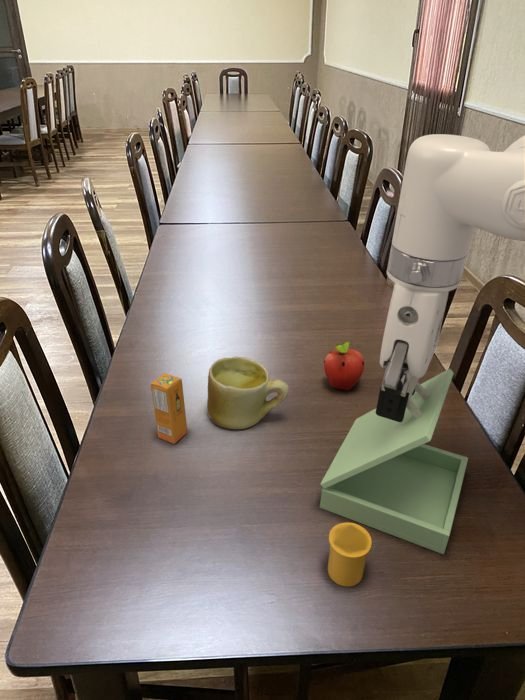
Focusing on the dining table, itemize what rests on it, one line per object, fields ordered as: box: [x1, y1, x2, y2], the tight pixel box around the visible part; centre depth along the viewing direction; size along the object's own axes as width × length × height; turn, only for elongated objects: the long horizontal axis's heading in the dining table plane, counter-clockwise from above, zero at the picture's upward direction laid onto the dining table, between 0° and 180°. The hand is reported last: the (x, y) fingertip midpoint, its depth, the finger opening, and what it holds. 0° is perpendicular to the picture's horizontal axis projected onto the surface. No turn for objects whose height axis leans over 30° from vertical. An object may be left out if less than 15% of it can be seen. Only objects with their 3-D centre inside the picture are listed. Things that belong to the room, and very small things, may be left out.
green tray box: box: [319, 443, 469, 555], centre depth 71 cm, size 16×15×3 cm
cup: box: [327, 522, 373, 587], centre depth 59 cm, size 5×5×5 cm
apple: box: [323, 341, 365, 391], centre depth 89 cm, size 8×7×10 cm
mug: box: [206, 356, 290, 430], centre depth 82 cm, size 12×10×10 cm
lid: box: [319, 368, 455, 489], centre depth 67 cm, size 16×15×5 cm
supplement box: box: [150, 373, 188, 445], centre depth 78 cm, size 3×3×10 cm
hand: (395, 402), depth 65 cm, fingers closed on lid, 5 cm apart
